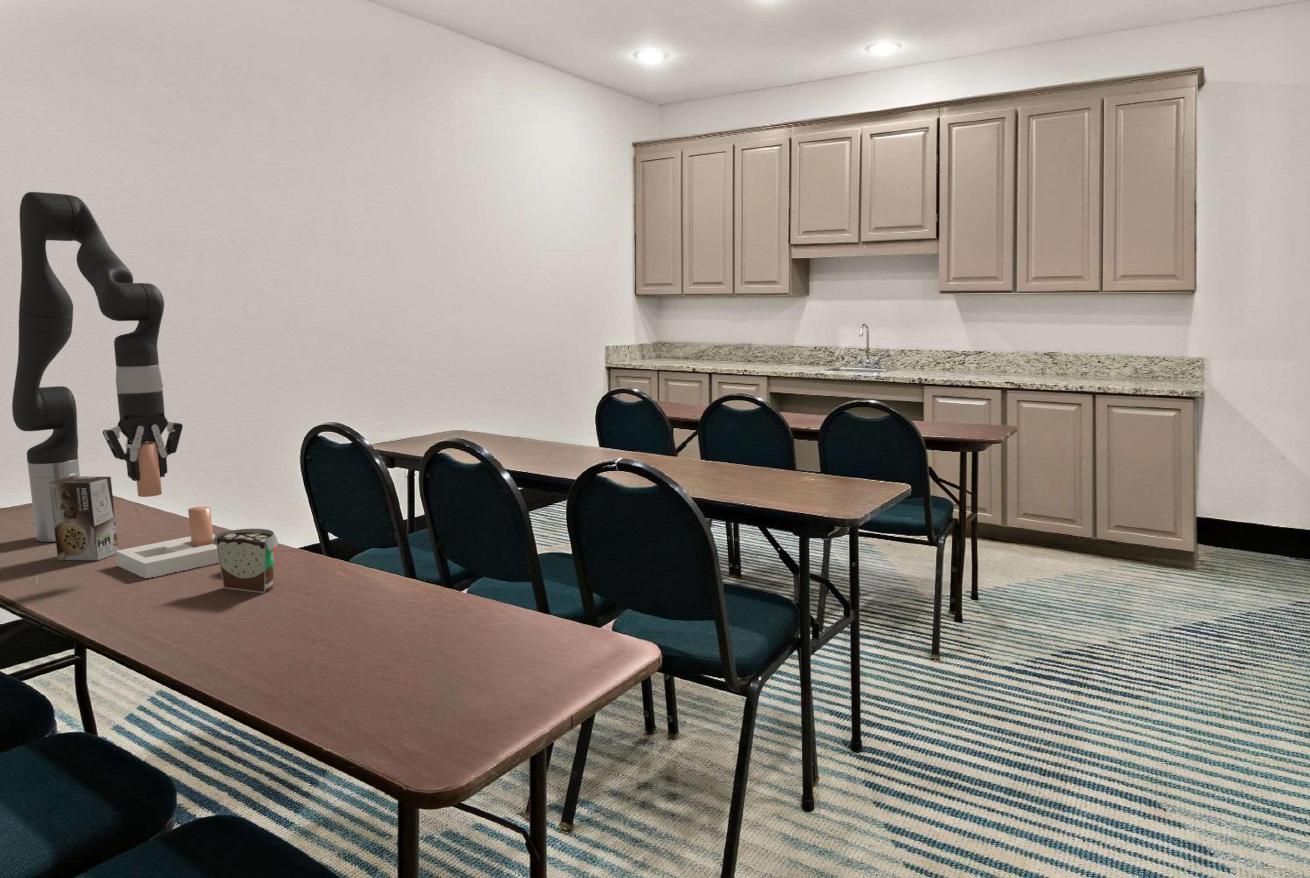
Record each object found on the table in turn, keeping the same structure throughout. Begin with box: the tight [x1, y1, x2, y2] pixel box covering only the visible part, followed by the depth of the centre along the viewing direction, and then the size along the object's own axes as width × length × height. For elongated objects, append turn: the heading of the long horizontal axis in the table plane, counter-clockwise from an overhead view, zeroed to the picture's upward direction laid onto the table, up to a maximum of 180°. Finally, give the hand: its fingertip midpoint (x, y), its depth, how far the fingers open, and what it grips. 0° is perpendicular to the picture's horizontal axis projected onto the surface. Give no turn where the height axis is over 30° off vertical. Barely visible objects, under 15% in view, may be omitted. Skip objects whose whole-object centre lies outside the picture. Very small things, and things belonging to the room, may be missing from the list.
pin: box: [136, 442, 162, 498], centre depth 171 cm, size 4×4×10 cm
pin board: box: [115, 506, 219, 580], centre depth 177 cm, size 14×18×10 cm
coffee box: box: [49, 476, 119, 561], centre depth 180 cm, size 9×6×16 cm
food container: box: [214, 528, 279, 594], centre depth 161 cm, size 12×6×10 cm, turn 71°
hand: (148, 478), depth 171 cm, fingers closed on pin, 4 cm apart
